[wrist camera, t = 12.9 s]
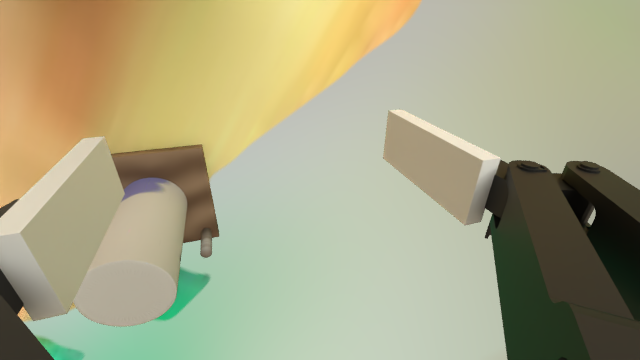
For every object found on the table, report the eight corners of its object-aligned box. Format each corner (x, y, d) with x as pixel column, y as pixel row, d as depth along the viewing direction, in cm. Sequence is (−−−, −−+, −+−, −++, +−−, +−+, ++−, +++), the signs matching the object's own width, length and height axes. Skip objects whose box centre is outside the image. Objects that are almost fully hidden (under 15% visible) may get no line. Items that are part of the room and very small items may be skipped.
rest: (74, 157, 45) (52, 180, 39) (201, 144, 50) (200, 163, 44) (113, 250, 54) (100, 281, 47) (218, 231, 59) (219, 257, 52)
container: (167, 236, 54) (148, 335, 37) (107, 213, 49) (53, 315, 32) (199, 195, 52) (193, 279, 35) (140, 165, 47) (101, 248, 30)
